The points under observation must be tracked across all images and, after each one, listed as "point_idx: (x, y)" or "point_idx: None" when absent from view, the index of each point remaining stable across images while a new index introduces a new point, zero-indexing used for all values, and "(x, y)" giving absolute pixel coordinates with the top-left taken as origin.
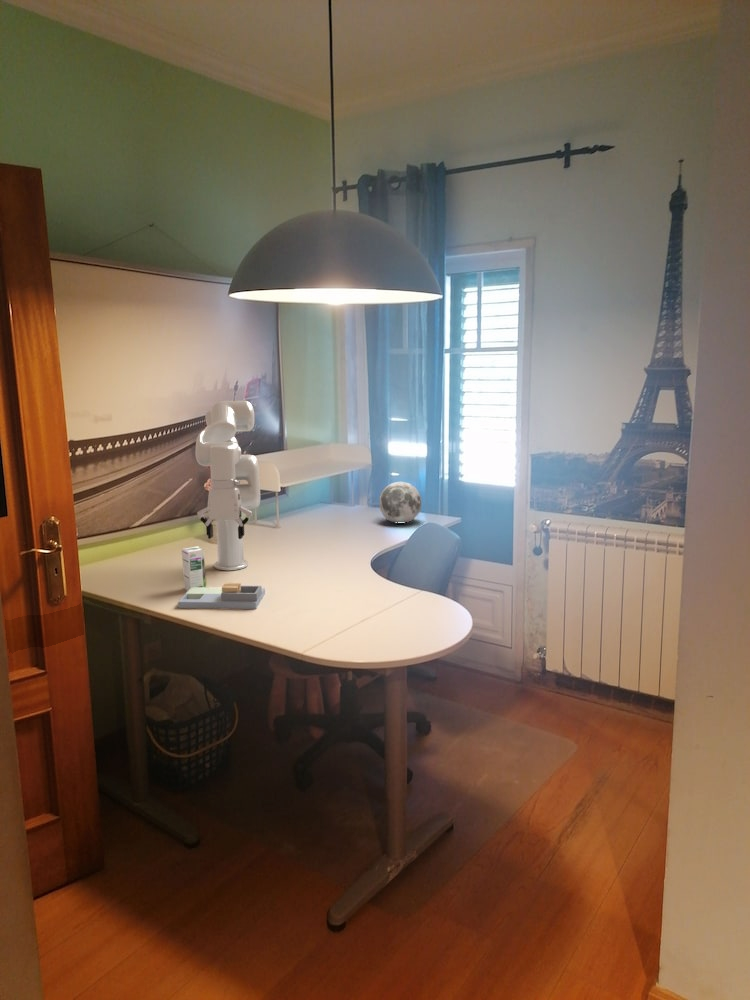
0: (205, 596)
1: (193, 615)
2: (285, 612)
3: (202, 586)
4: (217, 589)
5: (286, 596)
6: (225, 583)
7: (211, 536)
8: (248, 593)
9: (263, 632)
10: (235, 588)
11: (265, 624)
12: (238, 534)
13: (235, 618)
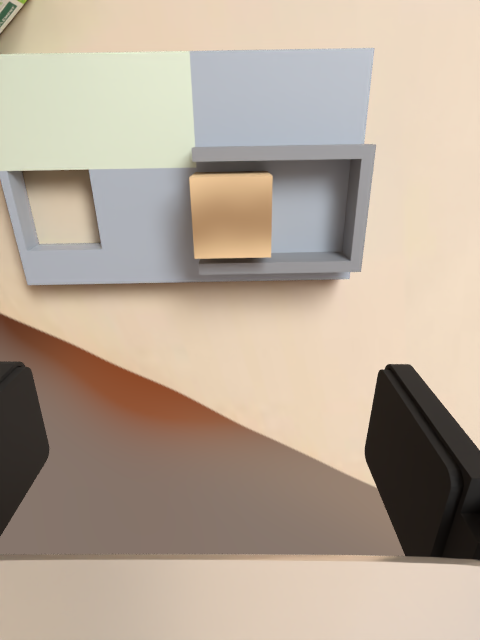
0: (111, 210)
1: (132, 344)
2: (453, 301)
3: (10, 2)
4: (126, 92)
5: (470, 97)
6: (193, 193)
7: (36, 432)
8: (323, 269)
9: None
10: (261, 255)
11: None
12: (382, 491)
13: (283, 362)
